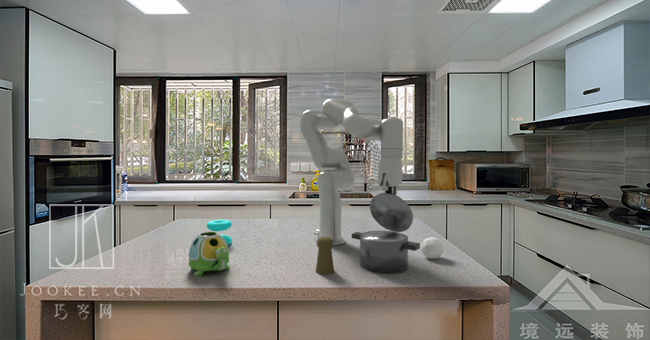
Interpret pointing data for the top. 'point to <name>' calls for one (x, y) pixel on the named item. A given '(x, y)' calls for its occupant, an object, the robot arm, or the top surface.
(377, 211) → the lid
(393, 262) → the pot
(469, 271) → the top surface
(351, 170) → the robot arm
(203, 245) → the turtle holder
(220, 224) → the turquoise spool shape
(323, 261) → the cork
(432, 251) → the geometric ball
